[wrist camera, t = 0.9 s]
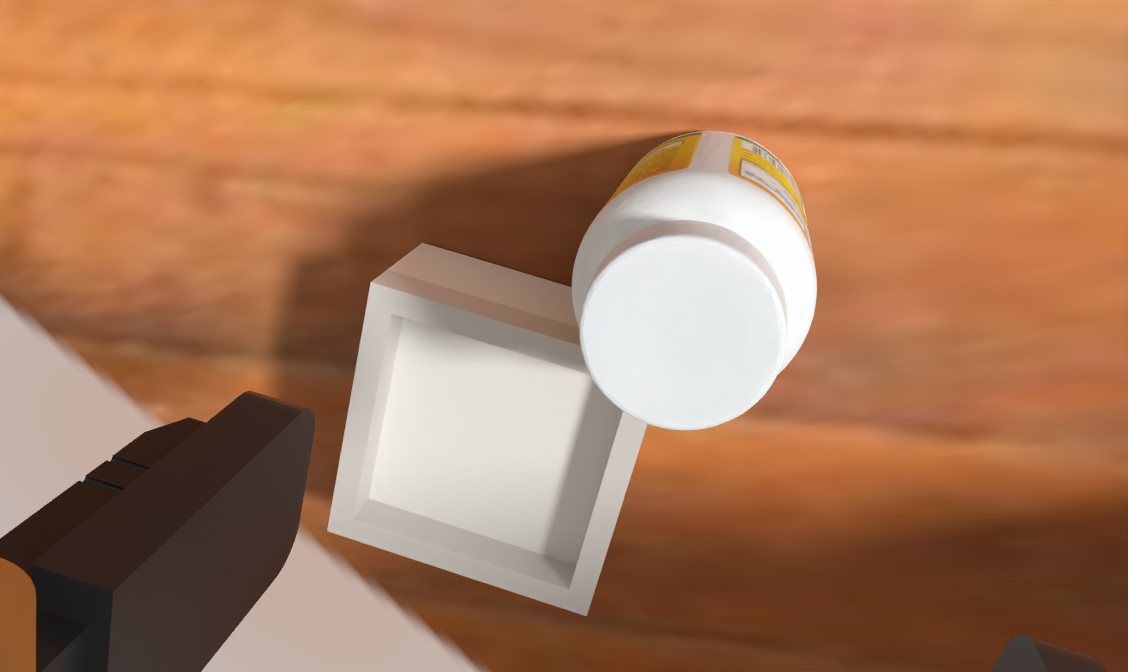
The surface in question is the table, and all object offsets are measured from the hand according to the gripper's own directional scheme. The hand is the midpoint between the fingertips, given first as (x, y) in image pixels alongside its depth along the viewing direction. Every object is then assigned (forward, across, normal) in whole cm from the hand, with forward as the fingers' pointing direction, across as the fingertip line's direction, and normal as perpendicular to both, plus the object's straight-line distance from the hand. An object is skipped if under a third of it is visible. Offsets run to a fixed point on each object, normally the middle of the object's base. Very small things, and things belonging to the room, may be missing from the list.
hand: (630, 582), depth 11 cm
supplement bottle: (+18, 0, 0) cm, 18 cm away
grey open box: (+18, +4, +7) cm, 19 cm away
